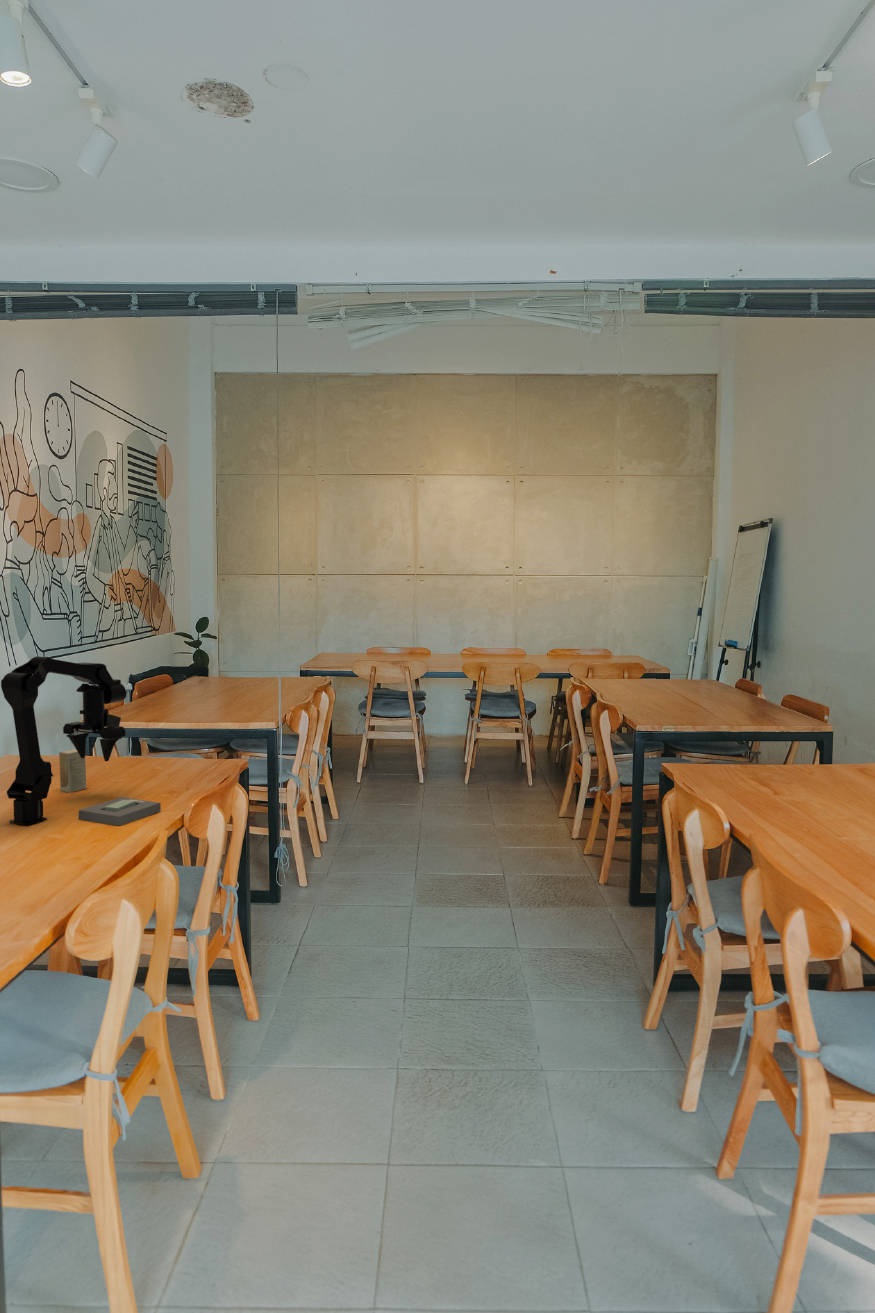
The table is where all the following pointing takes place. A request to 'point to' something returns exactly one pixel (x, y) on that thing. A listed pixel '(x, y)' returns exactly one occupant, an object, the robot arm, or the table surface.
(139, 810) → the socket board
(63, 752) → the skincare box
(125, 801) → the key block
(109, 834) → the table surface
